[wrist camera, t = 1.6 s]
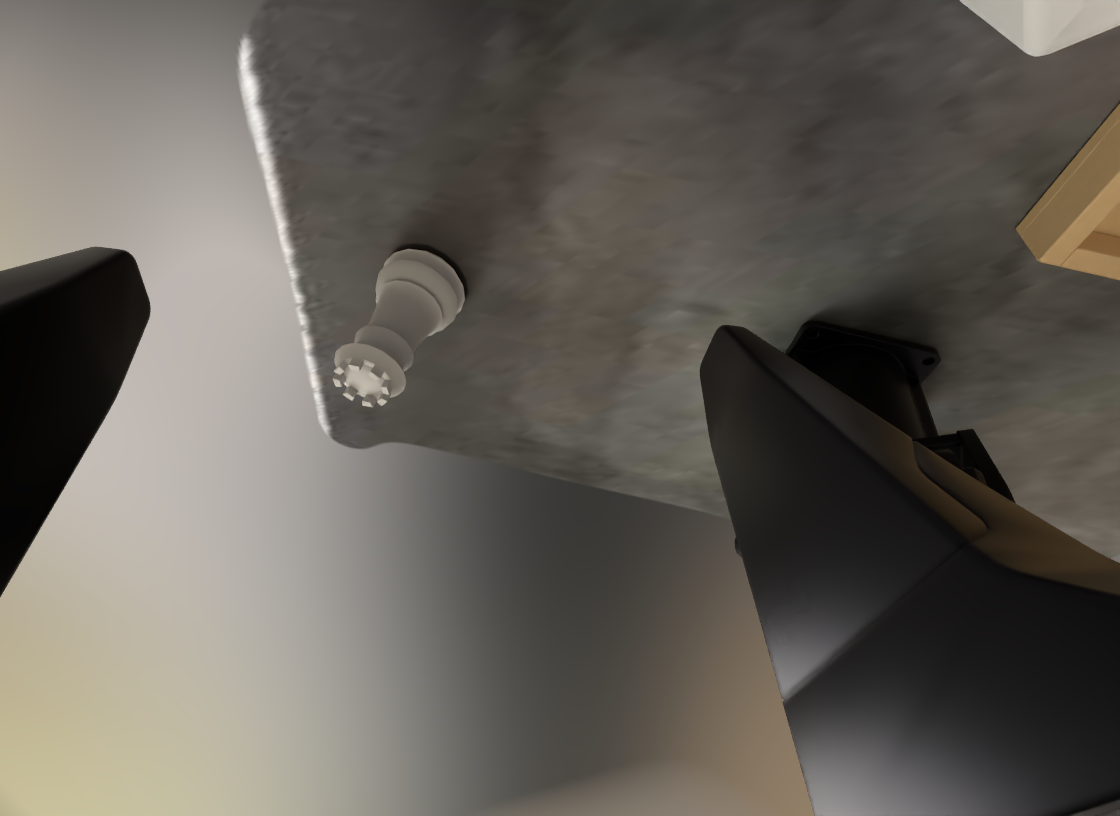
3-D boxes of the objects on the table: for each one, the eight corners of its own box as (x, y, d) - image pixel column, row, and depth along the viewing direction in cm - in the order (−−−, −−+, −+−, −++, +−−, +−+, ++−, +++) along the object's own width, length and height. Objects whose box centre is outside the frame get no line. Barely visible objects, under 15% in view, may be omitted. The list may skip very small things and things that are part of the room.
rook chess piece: (387, 302, 31) (316, 405, 26) (384, 232, 28) (303, 333, 22) (464, 325, 31) (410, 432, 26) (471, 258, 28) (411, 365, 22)
